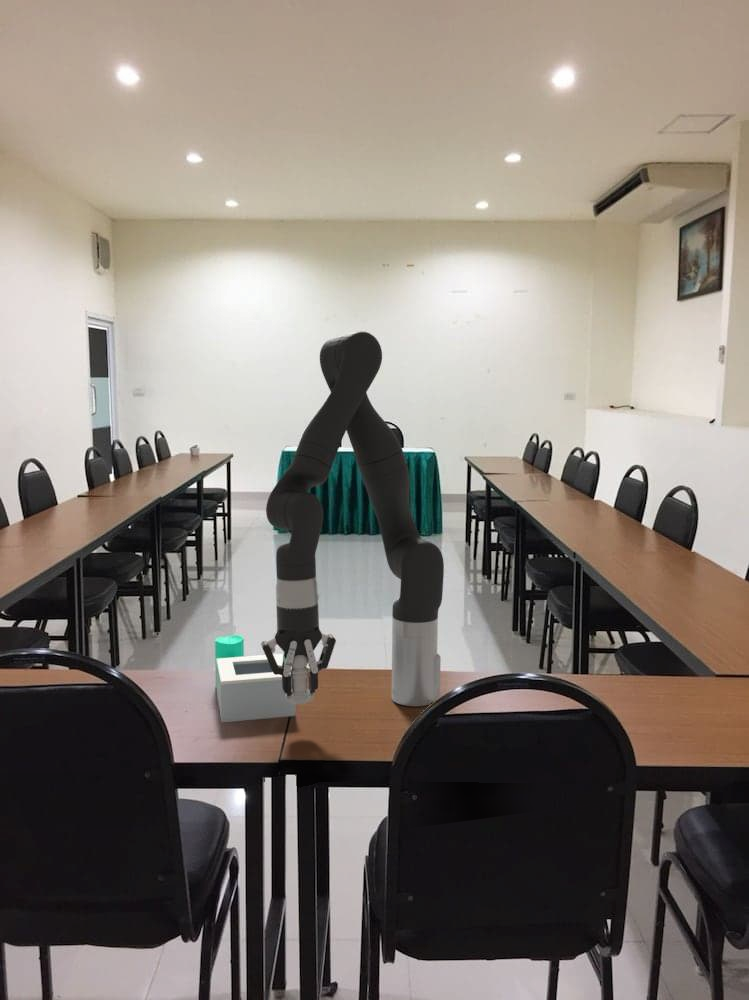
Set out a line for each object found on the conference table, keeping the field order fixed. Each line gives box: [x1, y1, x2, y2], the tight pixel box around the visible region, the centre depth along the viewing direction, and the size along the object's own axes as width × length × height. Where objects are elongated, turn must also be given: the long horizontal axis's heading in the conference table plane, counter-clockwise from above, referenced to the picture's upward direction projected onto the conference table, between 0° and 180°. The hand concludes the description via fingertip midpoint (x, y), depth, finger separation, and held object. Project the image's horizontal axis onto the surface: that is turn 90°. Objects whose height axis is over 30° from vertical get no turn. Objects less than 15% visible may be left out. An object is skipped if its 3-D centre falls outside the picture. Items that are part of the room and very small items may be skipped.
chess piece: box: [285, 655, 315, 705], centre depth 141 cm, size 5×5×9 cm
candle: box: [214, 631, 245, 689], centre depth 164 cm, size 6×6×12 cm
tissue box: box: [216, 653, 296, 723], centre depth 154 cm, size 14×14×8 cm
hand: (300, 692), depth 142 cm, fingers closed on chess piece, 3 cm apart
